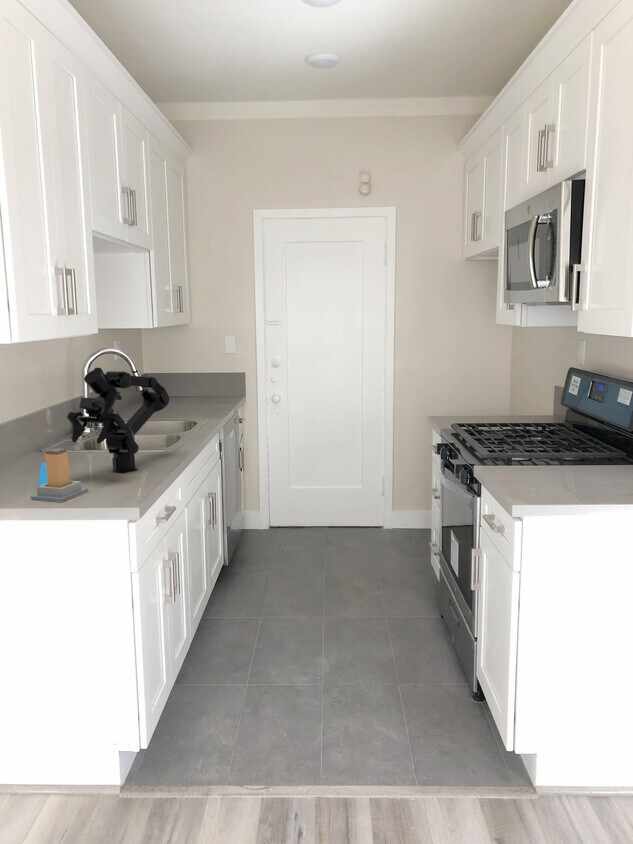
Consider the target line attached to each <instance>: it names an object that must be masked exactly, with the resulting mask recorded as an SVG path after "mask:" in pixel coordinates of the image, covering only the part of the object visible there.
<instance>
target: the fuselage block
mask: <svg viewBox="0 0 633 844" xmlns="http://www.w3.org/2000/svg"><path fill="white" fill-rule="evenodd" d="M68 455H69V454H68V451H67V448H61V447H60V448H59V447H58V448H57V447H55V448H51V449H48V450H45V454H44V458H45V463H46V470H47V482H48V487H58V488H61V487H64V486H67V485H69V484H70V481H71V479H70V469H69V456H68Z"/></svg>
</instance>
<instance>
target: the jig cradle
mask: <svg viewBox="0 0 633 844" xmlns="http://www.w3.org/2000/svg"><path fill="white" fill-rule="evenodd" d="M86 493H89V488H85V487H82V481H78V480H70V484H69V485H67V486H64V487H61V488H58V487H48V483H46V484H44V485H41V486H39V485H38V486H36V493H35V494H33V495H30V500H31V499H32V500H31V501H41V500H45V501H44V502H51V501H60V502H59V503H63V502H62V501H64V502H66V501H65V500H67V499H69V500H71V499H70V498H72V499H74V498H76V497H79V496H81V495H84V494H86ZM78 495H79V496H78ZM75 496H76V497H75ZM73 497H74V498H73ZM67 501H68V500H67Z"/></svg>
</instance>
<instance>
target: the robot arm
mask: <svg viewBox="0 0 633 844" xmlns="http://www.w3.org/2000/svg"><path fill="white" fill-rule="evenodd" d="M83 380H84V382H85V384H86V385H87V386H88V387H89V388H90V389H91V390H92V392H93V393H94V394H97V396H96V397H81V398H80V401H79V406H78V408H80V409H84V410H85V411H84V413H85V414H87V415H84V414H83V413H82V412H81V411H69V412H68V413H67V416H66V418H67V420H68V421H69V422H70V424H72V442H73V443H76V442H77V441H79V439H80V437H81V436H82V435H83V433H84V432H85V431H86V428H87V426H88V424H89V423H91V424H98V425H99V424H100V425H101V424H102V428H101V430H100V433H99V434H98V438H97V439H96V444H101V443H102V442H104V441H105V443H106V446H107V447H106V448H107V451H108V453H109V454H113V455H112V456H113V457H112V459H111V460H112V469H111V470H112V471H114V472H117V473H120V474H122V473H127V472H133V471H137V470H138V469H139V468H137V467H136V463H135V462H136V461H135V460H136V459H135V454H137V453H138V452H139V445H138V443H136V440H135V439H136V438H135V435H136V434H137V433H138V432H139V431H140V429H141V428H142V427H144V425H145V424H146V423H147V422H148V420H149V419H150V418H151V417H152V416H153V414H155V413H157V412H160V411H163V410H164V409H165V408H166V407H167V406H168V405H169V402H170V396H169V394H168V392H167V390H166V388H165V387H164V386H163V385H162V384H160V383H159V382H158V380H157V379H156V377H154V376H143V375H141V376H139V375H131V373H130V372H127V371H125V370H123V371H121V370H119V371H116V370H114V371H113V370H109V371H108V370H107V371H106V373H104V371H103V369H102V367H94V369H93V370H90V371H89V372H87V373H86V374H85V376H84V378H83ZM130 387H138V388H139V387H140V388H141V397H142V405H141V406H140V407H139V408H138V409H137V410H136V411H135V413H133V415H132V416H131V417H130V418H129V419H128V420H127V421H125V420H124V418H123V417H122V416H121V415H120V414H119V413H117V412H115V410H114V409H113V407H114V405H115V403H116V402H117V401H121V400H122V399H123V398H122V395H121V392H120V391H118V390H117V389H121V390H122V389H128V388H130ZM149 388H151V389H152V390H148V389H149Z"/></svg>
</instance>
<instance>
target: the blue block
mask: <svg viewBox="0 0 633 844" xmlns="http://www.w3.org/2000/svg"><path fill="white" fill-rule="evenodd" d="M40 464H41V465H40V473H39V474H40V475H39V481H38V486H41V485H44V484H46V483H48V482H47V470H46V462H41V463H40Z"/></svg>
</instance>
